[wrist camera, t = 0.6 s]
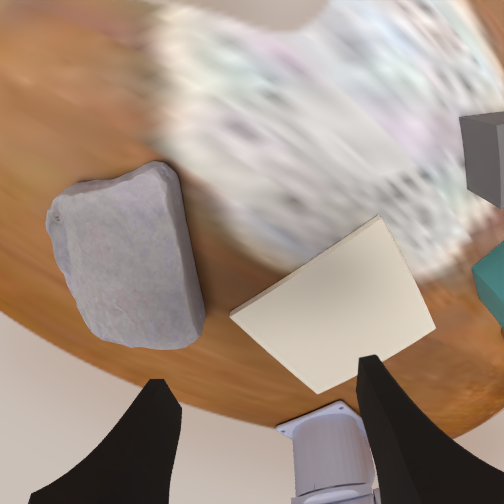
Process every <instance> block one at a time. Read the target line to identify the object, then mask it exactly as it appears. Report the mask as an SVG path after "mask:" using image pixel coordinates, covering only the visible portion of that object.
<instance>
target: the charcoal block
mask: <svg viewBox="0 0 504 504" xmlns="http://www.w3.org/2000/svg"><path fill="white" fill-rule="evenodd" d="M459 120H460V126H461V133H462V140H463V148H464V156H465V167H466V179H467V189H468V190H470V191H471V192H473V193H475V194H477V195H478V196H480V197H482V198H483V199H485V200H487V201H488V202H490V203H492V204H493V205H495V206H496V207H498V208H500V209H502V208H504V112H496V113H487V114H479V115H472V116H465V117H459Z"/></svg>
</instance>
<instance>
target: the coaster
mask: <svg viewBox="0 0 504 504" xmlns="http://www.w3.org/2000/svg"><path fill="white" fill-rule="evenodd" d="M230 318H231V319H232V320H233V321H234V322H235V323H236V324H238V325H239V326H240V327H241V328H242V329H243V330H244V331H245V332H246V333H247V334H248V335H250V336H251V337H252V338H253V339H254V340H255V341H256V342H257V343H258V344H260V345H261V346H262V347H263V348H264V349H265V350H266V351H267V352H269V353H270V354H271V355H272V356H273V357H274V358H275V359H276V360H278V361H279V362H280V363H281V364H282V365H283V366H285V367H286V368H287V369H288V370H289V371H290V372H291V373H293V374H294V375H295V376H296V377H297V378H299V379H300V380H301V381H302V382H303V383H304V384H306V385H307V386H308V387H309V388H310V389H312V390H313V391H314V392H315V393H316V394H320V393H322V392H324V391H326V390H328V389H330V388H332V387H334V386H337V385H339V384H341V383H343V382H345V381H347V380H349V379H351V378H353V377H355V376H356V375H358V362H359V358H360V357H365V356H369V355H374V354H376V355H377V356H378V357H379V359H380V360H381V362H382V361H384V360H386V359H388V358H389V357H391V356H393V355H394V354H396V353H398V352H400V351H401V350H403V349H404V348H406V347H408V346H409V345H411V344H413V343H414V342H416V341H417V340H419V339H421V338H422V337H424V336H425V335H427V334H428V333H430V332H431V331H433V330H434V329H436V327H435V325H434V323H433V320H432V318H431V316H430V313H429V311H428V309H427V306H426V304H425V302H424V300H423V297H422V295H421V293H420V291H419V289H418V287H417V285H416V282H415V280H414V278H413V276H412V274H411V272H410V270H409V268H408V266H407V264H406V262H405V260H404V258H403V256H402V254H401V252H400V251H399V249H398V247H397V245H396V243H395V241H394V239H393V237H392V236H391V234H390V232H389V230H388V228H387V227H386V225H385V223H384V221H383V219H382V218H381V217H380V216H379V215H377V216H376V217H374V218H373V219H371V220H370V221H368V222H367V223H366V224H364V225H363V226H361V227H360V228H358V229H357V230H355V231H354V232H352V233H351V234H349V235H348V236H347V237H345V238H344V239H342V240H341V241H339V242H338V243H336V244H335V245H333V246H332V247H330V248H329V249H327V250H326V251H324V252H323V253H321V254H320V255H318V256H317V257H315V258H314V259H312V260H311V261H309V262H308V263H306V264H304V265H303V266H301V267H300V268H298V269H297V270H295V271H294V272H292V273H291V274H289V275H288V276H286V277H284V278H283V279H281V280H280V281H278V282H277V283H275V284H274V285H272V286H270V287H269V288H267V289H266V290H264V291H263V292H261V293H259V294H258V295H256V296H255V297H253V298H251V299H250V300H248V301H247V302H245V303H243V304H242V305H240V306H239V307H237V308H235V309H234V310H232V311H231V312H230Z"/></svg>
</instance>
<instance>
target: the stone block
mask: <svg viewBox="0 0 504 504" xmlns="http://www.w3.org/2000/svg"><path fill="white" fill-rule="evenodd" d="M45 225H46V229H47V232H48V234H49V236H50V238H51V240H52V244H53V253H54V256H55V259H56V262H57V264H58V266H59V268H60V270H61V271H62V272H63V273H64V276H65V279H66V281H67V285H68V287H69V289H70V291H71V293H72V295H73V297H74V298H75V299H76V302H77V307H78V309H79V311H80V313H81V315H82V317H83V319H84V321H85V323H86V324H87V326H88V327H89V328H90V330H91V332H92V333H93V334H95V335H96V336H97V337H99V338H101V339H102V340H104V341H110V342H114V343H117V344H123V345H126V346H128V347H131V348H132V347H147V348H151V349H154V350H155V349H162V350H174V349H179V348H185V347H187V346H188V345H190V344H192V343H193V342H195V340H197V339H198V338H199V337H200V336H201V335H202V331H203V324H204V321H205V318H206V311H205V307H204V301H203V297H202V293H201V289H200V284H199V279H198V275H197V271H196V266H195V261H194V256H193V252H192V247H191V241H190V236H189V231H188V227H187V223H186V218H185V211H184V205H183V199H182V193H181V188H180V182H179V178H178V176H177V174H176V172H175V171H173V170H172V169H171V168H170V167H169V166H168V165H167V164H166V163H164V162H159V161H152V162H149V163H146V164H144V165H142V166H141V167H139V168H137V169H136V170H134V171H132V172H128V173H126V174H124V175H122V176H120V177H118V178H115V179H111V180H100V179H96V180H91V181H87V182H79V183H75V184H72V185H71V186H69V187H67V188H66V189H65V190H64V191H63V192H61V193H60V194H59V195H58V196H57V197H56V198H55V199H54V200H53V201H52V205H51V207H50V208H49V209H48V211H47V218H46V224H45Z"/></svg>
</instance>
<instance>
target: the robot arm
mask: <svg viewBox="0 0 504 504" xmlns="http://www.w3.org/2000/svg"><path fill="white" fill-rule="evenodd" d="M356 393H357V399H358V404H359V409H360V414H361V417H360V416H359V415H358V414H357V413H356V412H354V411H353V410H352V409H351V408H350V407H349V406H348V405H346V404H345V403H344V402H343V401H337V402H335V403H332V404H330V405H328V406H326V407H323V408H321V409H319V410H316V411H314V412H312V413H309V414H307V415H304V416H302V417H299V418H297V419H294V420H292V421H289V422H286V423H284V424H281V425H278V426H277V427H276V431H278V432H279V433H281V434H283V435H285V436H286V437H288V438H290V439H292V440H293V452H294V469H295V489H296V497H295V498H291V502H292V503H291V504H504V472H502V471H501V470H498V469H496V468H495V467H493V466H491V465H489V464H487V463H486V462H484V461H482V460H481V459H479V458H477V457H476V456H474V455H473V454H472V453H470V452H469V451H467V450H466V449H464V448H463V447H462V446H460V445H459V444H457V443H456V442H455V441H454V440H452V439H451V438H450V437H449V436H448V435H446V434H445V433H444V432H443V431H442V430H441V429H439V428H438V427H437V426H436V425H435V424H434V423H433V422H432V421H431V420H430V419H429V418H428V417H427V416H426V415H425V414H424V413H423V412H422V411H421V410H420V409H419V408H418V407H417V406H416V404H415V403H414V402H413V401H412V400H411V399H410V398H409V396H408V395H407V394H406V393H405V392H404V391H403V389H402V388H401V387H400V386H399V384H398V383H397V382H396V381H395V379H394V378H393V377H392V375H391V374H390V373H389V371H388V370H387V369H386V367H385V366H384V364H383V363H382V362H381V360H380V359H379V357H378V356H377V355H376V354H374V355H369V356H365V357H360V358H359V362H358V375H357V386H356ZM181 418H182V407H181V406H180V404H179V403H178V401H177V400H176V398H175V397H174V395H173V393H172V392H171V390H170V389H169V387H168V385H167V384H166V382H165V380H164V379H150V380H149V381H148V382H147V384H146V385H145V386H144V388H143V389H142V390H141V392H140V393H139V395H138V396H137V397H136V399H135V400H134V401H133V403H132V404H131V406H130V407H129V408H128V410H127V411H126V412H125V414H124V415H123V416H122V417H121V419H120V420H119V421H118V423H117V424H116V425H115V426H114V428H113V429H112V430H111V431H110V432H109V433H108V435H107V436H106V437H105V438H104V439H103V440H102V442H101V443H100V444H99V445H98V446H97V447H96V448H95V449H94V450H93V451H92V452H91V453H90V454H89V455H88V456H87V457H86V458H85V459H83V460H82V461H81V462H80V463H79V464H77V465H76V466H75V467H74V468H72V469H71V470H70V471H69V472H68V473H66V474H64V475H63V476H62V477H60V478H59V479H57V480H56V481H54V482H52V483H51V484H49V485H47V486H45V487H43V488H42V489H40V490H38V491H36V492H34V493H31V496H30V499H29V502H28V504H169V488H170V480H171V474H172V469H173V465H174V460H175V455H176V450H177V446H178V440H179V436H180V431H181ZM368 441H369V442H368ZM369 444H370V446H369ZM370 448H371V451H372V455H373V458H374V462H375V465H376V470H377V476H378V483H379V488H376V489H373V494H372V488H371V486H372V484H373V482H374V477H375V470H374V465H373V460H372V456H371V451H370ZM373 495H374V499H373Z"/></svg>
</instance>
